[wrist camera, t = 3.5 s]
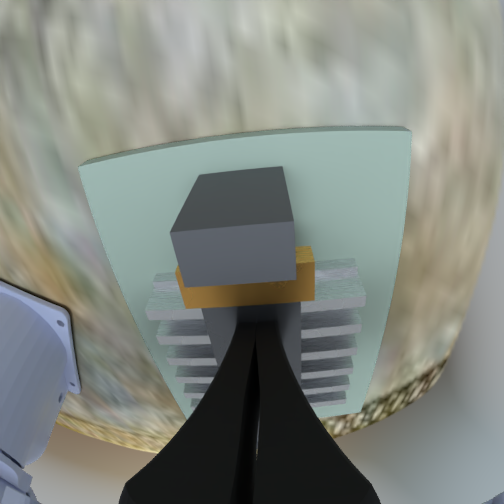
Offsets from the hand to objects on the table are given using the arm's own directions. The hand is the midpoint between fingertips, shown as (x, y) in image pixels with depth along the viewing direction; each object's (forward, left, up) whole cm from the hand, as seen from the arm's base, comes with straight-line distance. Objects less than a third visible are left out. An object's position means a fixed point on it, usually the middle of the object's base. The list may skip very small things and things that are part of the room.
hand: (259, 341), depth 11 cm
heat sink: (-2, -1, -3) cm, 4 cm away
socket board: (-2, -1, -3) cm, 4 cm away
